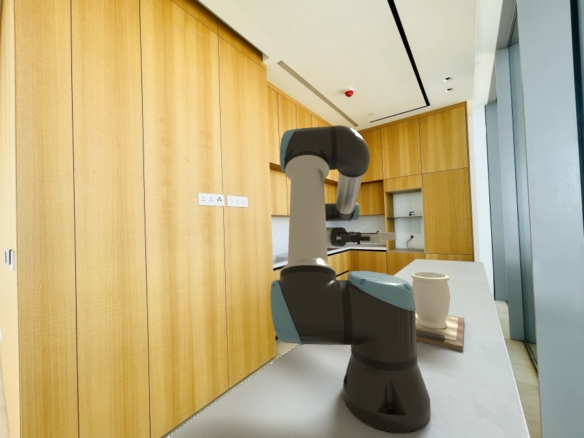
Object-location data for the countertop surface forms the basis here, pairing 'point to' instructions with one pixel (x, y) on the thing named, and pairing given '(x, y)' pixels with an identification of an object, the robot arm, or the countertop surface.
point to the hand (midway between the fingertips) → (388, 237)
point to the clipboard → (443, 333)
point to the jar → (431, 299)
